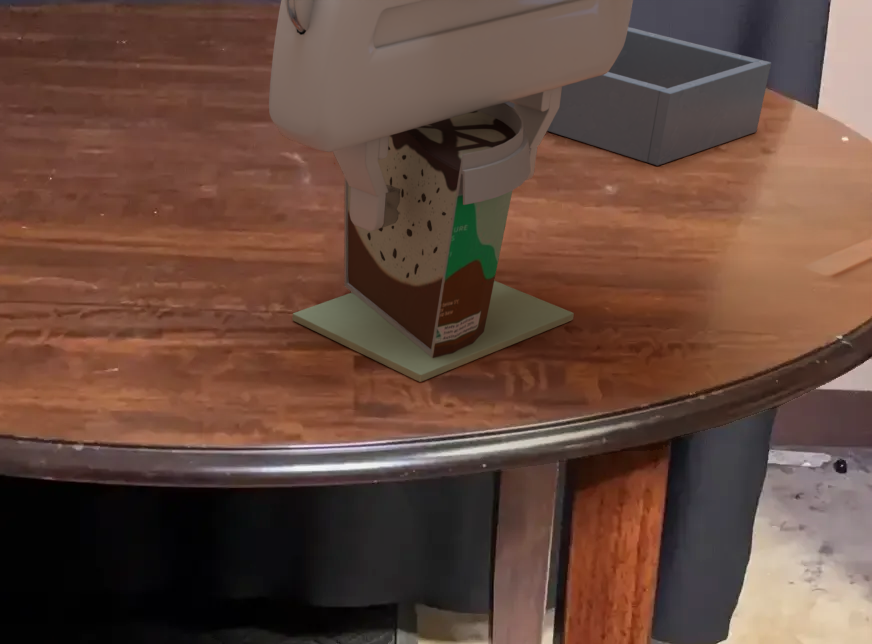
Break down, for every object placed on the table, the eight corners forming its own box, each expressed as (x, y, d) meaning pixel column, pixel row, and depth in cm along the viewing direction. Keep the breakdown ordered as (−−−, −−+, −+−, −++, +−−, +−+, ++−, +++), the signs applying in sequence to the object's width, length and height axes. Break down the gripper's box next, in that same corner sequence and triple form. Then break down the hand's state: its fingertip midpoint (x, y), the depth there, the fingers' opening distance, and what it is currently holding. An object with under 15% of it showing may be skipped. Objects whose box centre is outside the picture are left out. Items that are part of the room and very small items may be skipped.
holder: (757, 132, 100) (771, 62, 98) (657, 166, 95) (670, 93, 92) (562, 76, 111) (570, 12, 108) (462, 104, 105) (469, 37, 103)
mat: (573, 320, 76) (574, 312, 76) (420, 382, 71) (420, 374, 70) (443, 266, 82) (443, 259, 82) (292, 320, 76) (292, 313, 76)
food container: (560, 348, 73) (590, 140, 67) (448, 371, 71) (469, 158, 65) (433, 258, 82) (450, 67, 76) (331, 275, 80) (340, 81, 74)
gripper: (346, -71, 57) (330, 276, 65) (678, -132, 68) (629, 173, 76) (239, -95, 61) (236, 234, 69) (568, -150, 72) (532, 142, 80)
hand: (443, 202), depth 73 cm, fingers open, 8 cm apart
